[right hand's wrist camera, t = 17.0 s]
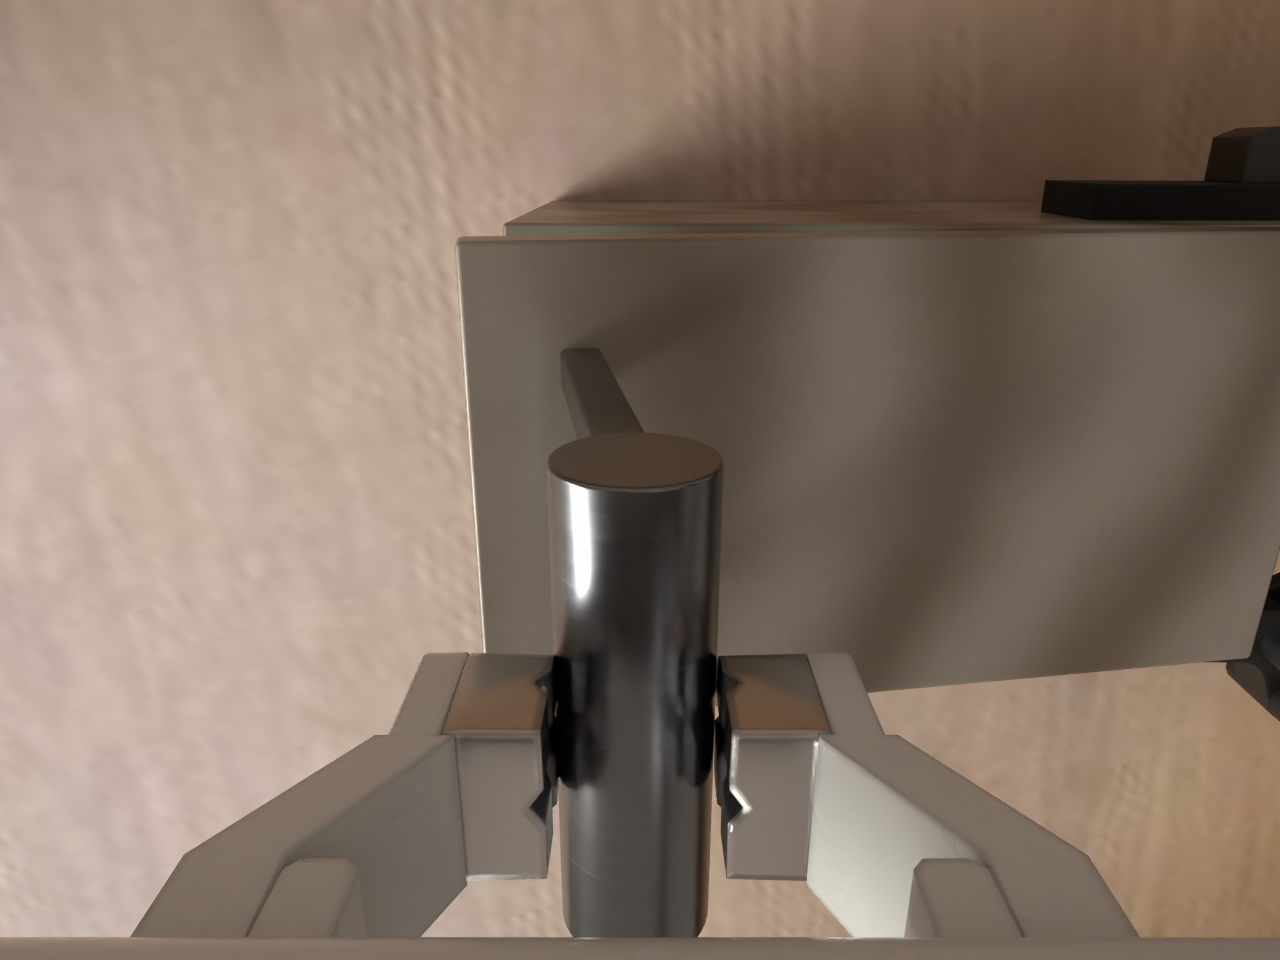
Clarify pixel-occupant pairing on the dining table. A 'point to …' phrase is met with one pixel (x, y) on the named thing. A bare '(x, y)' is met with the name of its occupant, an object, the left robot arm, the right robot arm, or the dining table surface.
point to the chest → (810, 218)
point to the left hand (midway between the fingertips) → (1032, 414)
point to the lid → (850, 484)
